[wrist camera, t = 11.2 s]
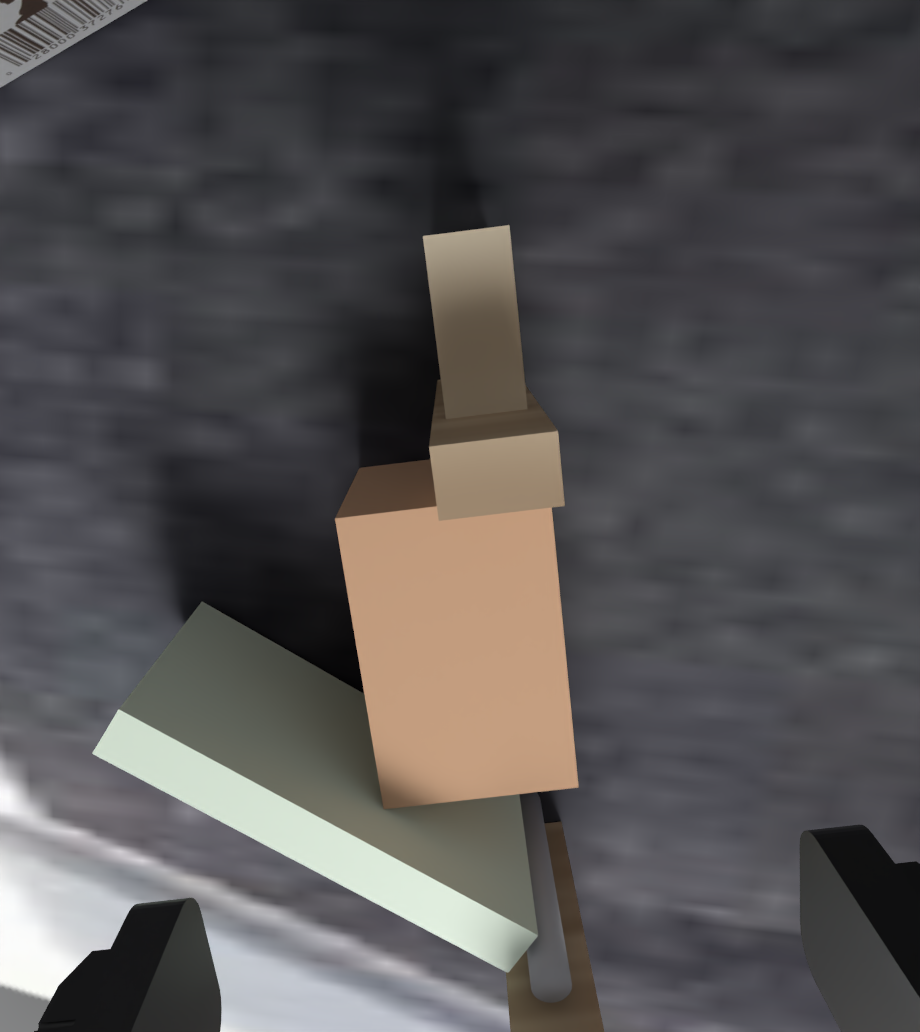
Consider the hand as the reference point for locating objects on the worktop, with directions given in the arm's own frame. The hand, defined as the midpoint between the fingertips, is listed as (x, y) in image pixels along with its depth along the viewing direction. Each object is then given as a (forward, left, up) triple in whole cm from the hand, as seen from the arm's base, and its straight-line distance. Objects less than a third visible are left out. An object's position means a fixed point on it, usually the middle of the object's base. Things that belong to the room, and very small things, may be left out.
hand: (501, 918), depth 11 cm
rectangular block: (0, 0, -13) cm, 13 cm away
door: (+4, -4, -13) cm, 14 cm away
